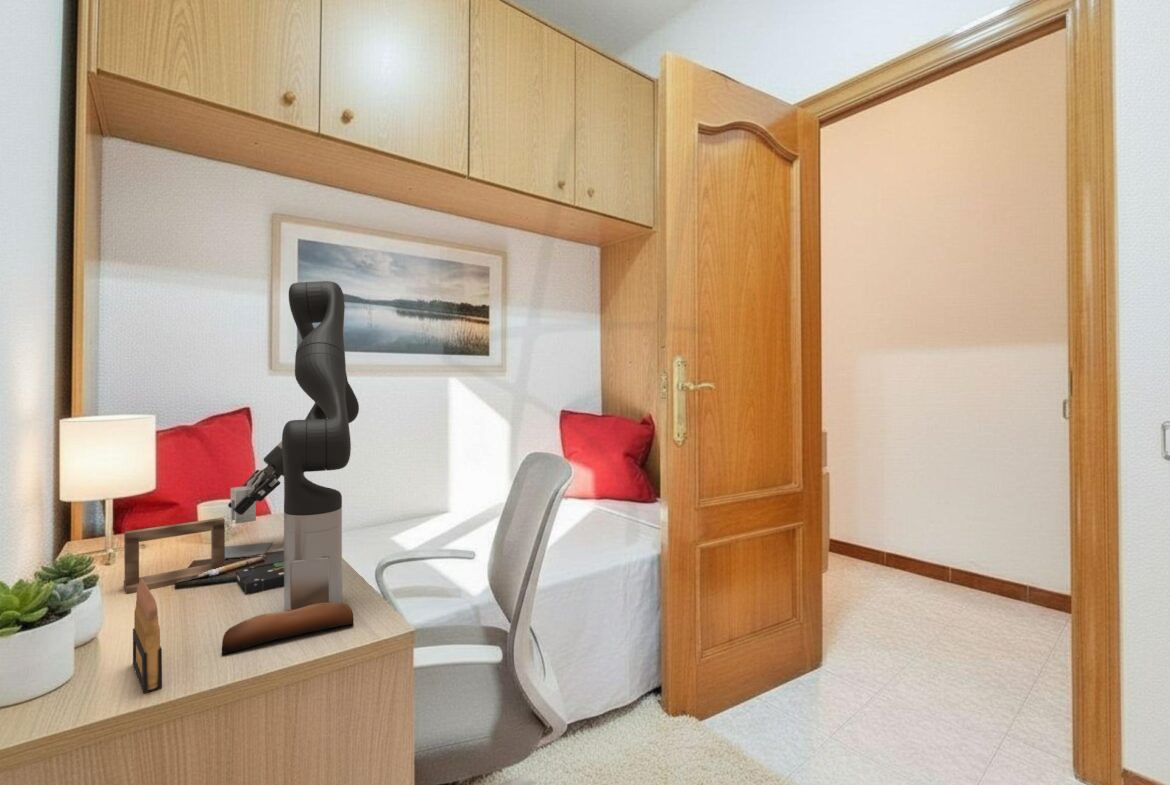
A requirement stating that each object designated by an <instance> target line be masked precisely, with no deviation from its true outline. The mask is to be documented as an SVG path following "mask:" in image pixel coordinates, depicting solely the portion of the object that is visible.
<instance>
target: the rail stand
mask: <svg viewBox="0 0 1170 785" xmlns="http://www.w3.org/2000/svg"><path fill="white" fill-rule="evenodd" d="M225 520H226V519H225V518H224V517H218V518H216V517H215V518H211V519H203V520H197V521H191V522H189V521H188V522H182V523H176V524H170V525H167V524H166V525H162V526H155V527H149V528H148V527H147V528H141V529H133V530H128V531H127V530H126V531H124V533H123V534H124V536H123V537H124V538H123V539H124V540H123V541H124V542H123V543H124V544H123V545H124V554H123V555H124V556H123V558H124V562H123V563H124V564H123V565H124V580H123V588H124V590H125V593H126V595H127V594H128V595H129V594H133V593H137V589H138V585H139V582H140V580H141V579H143V580H144V582H145V584H146V585H147V587H148V589H149V590H153V589H157V588H161V587H167V586H172V585H176V584H175V583H176V582H177V581H178V580H181V579H183V578H188V577H192V576H196V575H199V574H202V573H203V572H206V571H208V570H211V569H216V568H219V567H222V566H225V567H226V562H225V561H226V560H225V546H226V541H225V540H226V539H225V538H226V536H225V532H226V531H225V530H226V529H225V528H226V527H225V524H226V523H225V522H226V521H225ZM205 532H211V533H210V534H211V535H210V536H211V537H210V540H211V541H210V542H211V546H210V547H211V552H210V553H211V559H210V560H211V563H207V564H204V565H197V566H193V567H187V568H181V569H177V570H176V569H175V570H171V571H165V572H160V573H156V574H151V575H145V576H140V542H141V543H142V542H147V541H152V540H153V541H155V540H161V539H167V538H174V537H179V536H185V535H192V534H199V533H205Z"/></svg>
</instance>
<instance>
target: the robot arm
mask: <svg viewBox="0 0 1170 785" xmlns="http://www.w3.org/2000/svg"><path fill="white" fill-rule="evenodd" d="M288 302H289V308H290V312H291V315H292V318H293V322H294V323H295V325H296V327H297V330H298V333H299V335H300V337H301V342H300V343H299V344H298V346H297V348H296V351H295V355H294V356H295V357H294V358H295V359H294V377H295V380H296V382H297V384H298V385H299V387H300V388H301V390H302V391H303V392H304V393H305V394H306V395H307V396H308V397H309V398H310V399H312V401H313V402H314V403H313V406H312V407H311V409H310V410H309V412H308V413H307V416H306V417H305V418H304V419H292V420H289V421H287V422H286V423H285V425H284V427H283V430H282V434H281V435H282V436H281V441H280V442H279V443H278V444H277V445H276V446H275V447H273V449H272V450H271V451H269V453H268V454H266V456H264V457H263V462H264V463H265V464H266V465H267V466H266V467H264V468H263V469H260V470H259V469H257V470H255V471H254V473H253V474H251V476H250V477H249V478H248V479H247V480H246V481H245V482H244V483H243V484H242V486H240V487H244V486H251V487H252V490H251V491H250V492H249V493H248V495H247V497H248V498H247V497H245V498H244V499H243V500H242V501H241V502H240V503H239V504H238V505H237V506H236V507H235V508H234V511H235V512H237V513H238V514H240V515H242V514H244V513H245V512H246V511H247V510H248V509H249V508H250V507H251V506H252V505H253V503H254V502H255V503H256V504H257V503H258V502H263V501H264V499H265V498H266V497H268V495H270V494H271V492H273V491H274V490H275V489H276V488H277V487H278V486H280V485H281V481H280V480H279V479H280V478H281V476H282V477H283V484H284V485H283V489H284V490H283V493H284V494H283V496H284V497H283V561H284V587H283V600H284V601H283V602H284V603H283V609H284V611H283V612H285V611H286V610H288V609H293V610H295V609H298V608H302V607H305V606H309V605H313V604H318V603H343V544H342V543H343V534H342V533H343V526H342V525H343V508H342V507H343V502H342V501H343V496H342V494H341V491H339V490H338V489H336V488H335V489H334V488H330V487H327V486H322V485H319V484H317V483H315V482H313V481H311V480H309V479H308V478H306V476H305V473H306V472H307V473H308V472H323V471H324V472H326V471H337V470H340V469H344V468H345V467H346V466H348V463H349V462H350V458H351V453H352V452H351V450H352V449H351V448H352V447H351V446H352V444H351V443H352V441H351V432H350V423H352V422H354V421H355V420H356V418H357V417H358V415H359V413H360V412H359V410H360V405H359V402H358V398H357V396H356V394H355V392H354V390H353V388H352V386H351V385H350V382H349V380H348V375H347V365H346V352H345V343H344V324H345V308H346V307H345V306H346V305H345V296H344V292H343V290H342V288H341V286H340V285H339V284H338V283H337V282H335V281H328V280H321V281H320V280H319V281H305V282H304V281H303V282H302V281H301V282H300V281H299V282H294V283H292V284H290V286H289V288H288ZM317 323H318V325H317V326H316V327H315V326H314V325H313V324H317ZM227 506H228V508H230V509H231V501H230V502H229V503H228V504H227Z"/></svg>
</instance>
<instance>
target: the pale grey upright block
mask: <svg viewBox="0 0 1170 785" xmlns="http://www.w3.org/2000/svg"><path fill="white" fill-rule="evenodd" d="M251 490H252V487H251V486H244V487H241V486H236V487H230V502H231V508H230V520H231V521H234V524H242V523H243V524H245V523H250V522H257V518H256V516H257V507H256V506H257V502H256V503H255V502H254V503H253V505H252V506H251V507H250V508H249V509H248V510H247V511H246V512H245V513H244V514H242V515H240V514H238V513H237V512H235V511H234V508H235V507H236V506H237V505H238V504H239V503H240V502H241V501H242V500H243V499H244V498H245V497H247V495H248V493H249V492H250V491H251ZM247 498H248V497H247Z"/></svg>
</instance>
